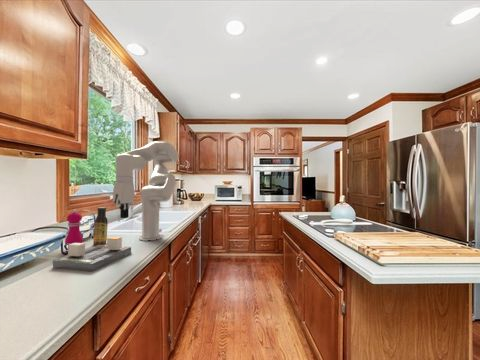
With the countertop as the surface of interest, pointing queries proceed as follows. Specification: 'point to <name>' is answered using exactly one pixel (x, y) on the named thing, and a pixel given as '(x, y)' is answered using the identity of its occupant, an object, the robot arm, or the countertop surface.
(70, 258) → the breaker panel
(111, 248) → the switch
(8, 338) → the countertop surface
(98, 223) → the sauce bottle
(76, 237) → the pepper mill
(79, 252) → the on switch
